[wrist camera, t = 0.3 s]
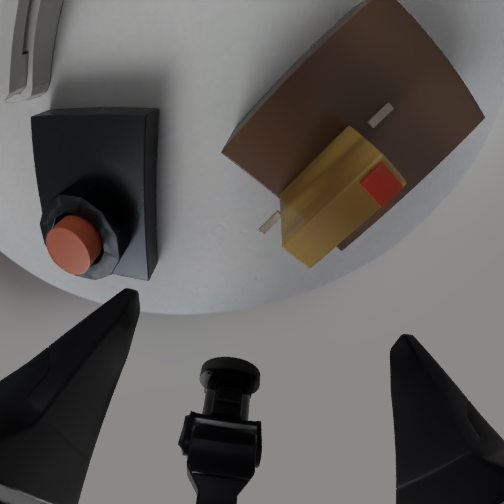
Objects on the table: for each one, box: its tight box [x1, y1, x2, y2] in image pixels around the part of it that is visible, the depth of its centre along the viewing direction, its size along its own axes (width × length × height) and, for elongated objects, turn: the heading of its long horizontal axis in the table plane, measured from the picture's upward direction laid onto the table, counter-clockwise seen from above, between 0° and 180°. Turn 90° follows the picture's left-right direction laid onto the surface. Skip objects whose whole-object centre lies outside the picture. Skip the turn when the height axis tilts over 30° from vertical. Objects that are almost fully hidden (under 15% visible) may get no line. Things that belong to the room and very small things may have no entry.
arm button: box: [46, 214, 102, 274], centre depth 17 cm, size 4×4×2 cm
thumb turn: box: [280, 126, 406, 268], centre depth 11 cm, size 5×1×5 cm, turn 140°
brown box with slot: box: [222, 0, 485, 251], centre depth 14 cm, size 13×8×5 cm, turn 140°
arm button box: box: [31, 107, 159, 281], centre depth 18 cm, size 12×9×4 cm
